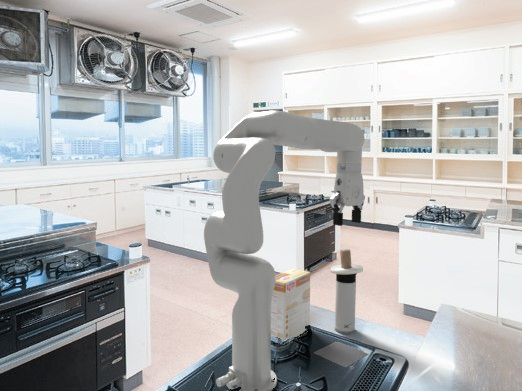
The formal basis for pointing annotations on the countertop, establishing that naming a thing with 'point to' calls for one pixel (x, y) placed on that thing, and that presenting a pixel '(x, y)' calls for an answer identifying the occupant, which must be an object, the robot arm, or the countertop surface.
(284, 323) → the coffeecake box
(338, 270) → the lid
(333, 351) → the mat
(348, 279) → the travel mug
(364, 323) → the countertop surface
